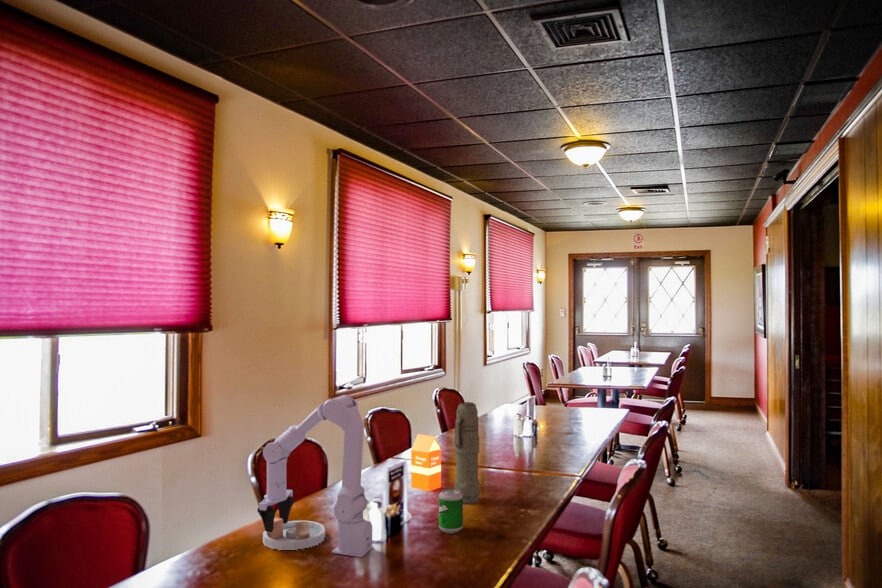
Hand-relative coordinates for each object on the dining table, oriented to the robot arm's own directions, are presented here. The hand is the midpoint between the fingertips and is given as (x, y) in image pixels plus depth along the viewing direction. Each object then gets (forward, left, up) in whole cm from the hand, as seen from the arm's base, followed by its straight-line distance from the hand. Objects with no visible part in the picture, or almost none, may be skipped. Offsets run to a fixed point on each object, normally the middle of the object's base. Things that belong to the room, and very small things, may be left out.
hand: (276, 527), depth 189 cm
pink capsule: (0, 0, -3) cm, 3 cm away
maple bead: (-9, 0, -3) cm, 9 cm away
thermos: (-42, -56, -4) cm, 70 cm away
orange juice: (-22, -67, -4) cm, 70 cm away
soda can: (-46, -26, -4) cm, 53 cm away
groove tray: (-5, -3, -4) cm, 7 cm away
